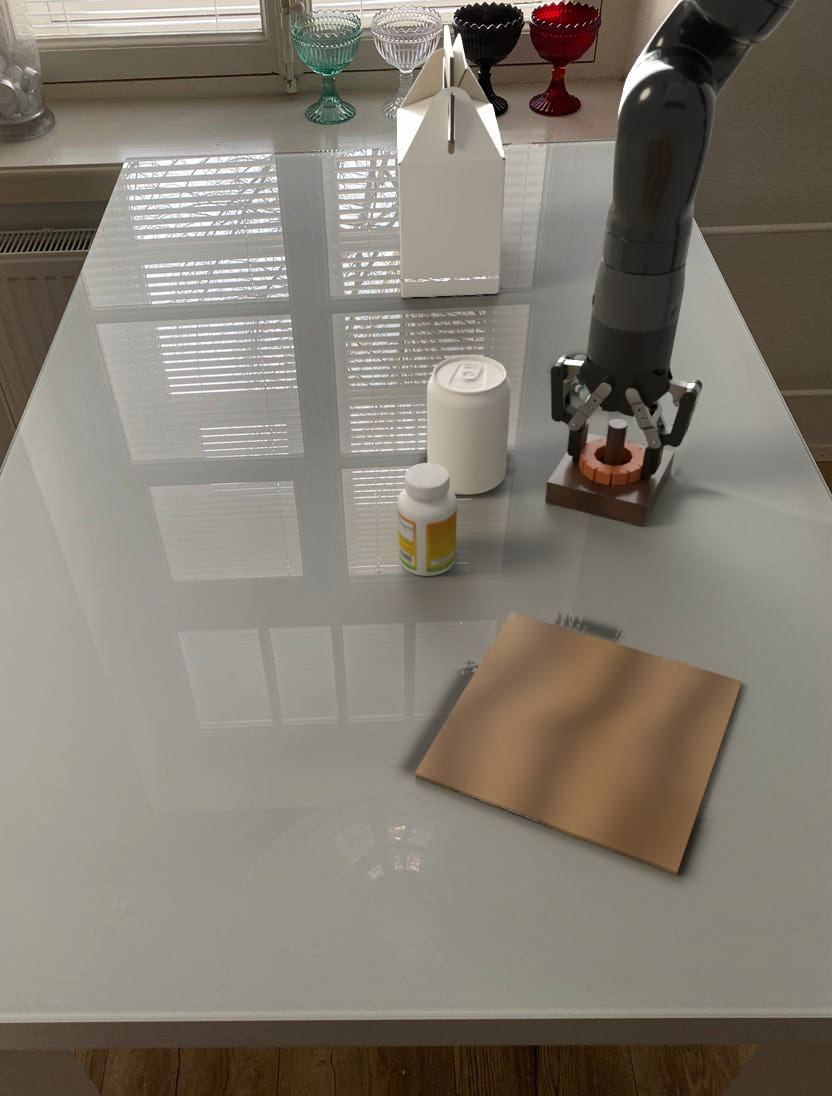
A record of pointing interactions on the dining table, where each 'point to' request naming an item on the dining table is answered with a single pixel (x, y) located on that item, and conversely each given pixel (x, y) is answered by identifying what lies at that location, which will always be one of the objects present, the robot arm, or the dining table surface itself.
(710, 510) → the dining table surface
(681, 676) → the wooden board
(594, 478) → the ring
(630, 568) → the dining table surface
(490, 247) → the gable box
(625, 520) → the peg stand
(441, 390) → the beverage can
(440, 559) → the supplement bottle
